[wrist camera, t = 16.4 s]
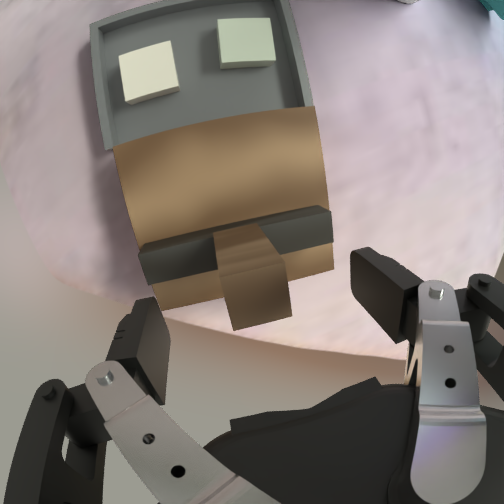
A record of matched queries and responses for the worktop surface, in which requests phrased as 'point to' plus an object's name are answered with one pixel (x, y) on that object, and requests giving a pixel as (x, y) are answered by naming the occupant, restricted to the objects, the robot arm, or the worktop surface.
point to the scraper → (242, 260)
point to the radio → (494, 6)
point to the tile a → (149, 73)
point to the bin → (194, 66)
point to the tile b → (245, 42)
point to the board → (224, 186)
